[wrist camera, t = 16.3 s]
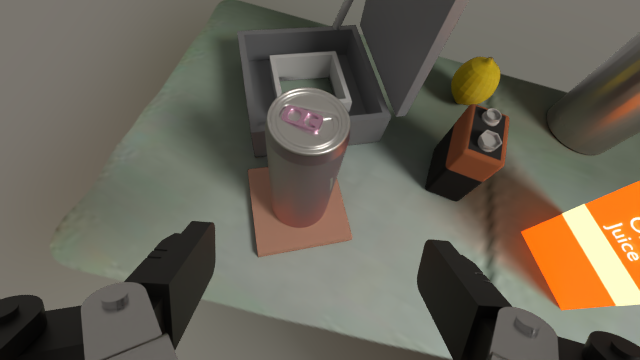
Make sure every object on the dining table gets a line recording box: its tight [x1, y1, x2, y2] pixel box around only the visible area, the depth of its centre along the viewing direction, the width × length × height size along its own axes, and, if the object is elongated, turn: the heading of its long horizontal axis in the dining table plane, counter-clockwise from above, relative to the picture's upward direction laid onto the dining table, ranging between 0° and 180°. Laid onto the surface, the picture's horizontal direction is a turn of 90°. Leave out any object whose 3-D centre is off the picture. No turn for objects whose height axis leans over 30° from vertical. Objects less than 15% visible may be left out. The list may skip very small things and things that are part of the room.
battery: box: [425, 104, 509, 201], centre depth 34 cm, size 4×7×10 cm, turn 158°
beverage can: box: [265, 87, 350, 228], centre depth 27 cm, size 6×6×15 cm
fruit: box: [451, 57, 500, 105], centre depth 40 cm, size 6×6×8 cm
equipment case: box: [237, 0, 469, 157], centre depth 31 cm, size 18×16×23 cm
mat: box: [248, 167, 352, 257], centre depth 34 cm, size 10×10×1 cm
